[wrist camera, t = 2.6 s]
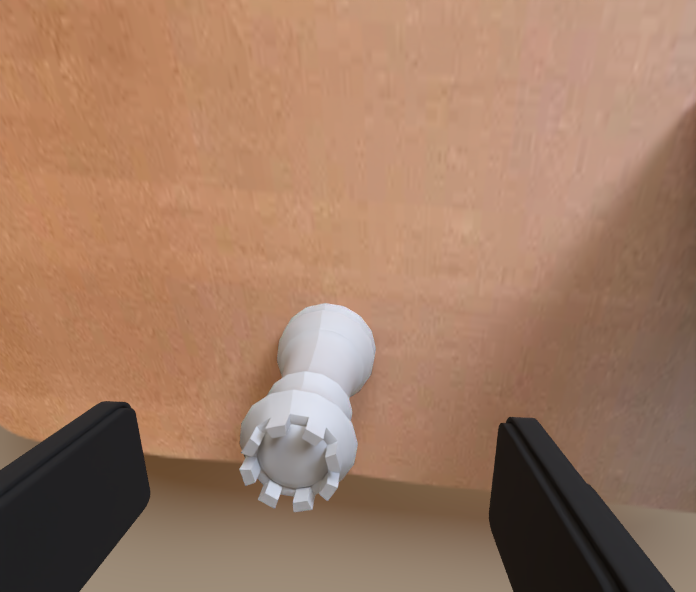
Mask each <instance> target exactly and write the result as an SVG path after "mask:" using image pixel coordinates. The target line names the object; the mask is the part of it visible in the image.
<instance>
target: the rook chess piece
mask: <svg viewBox="0 0 696 592" xmlns="http://www.w3.org/2000/svg"><path fill="white" fill-rule="evenodd" d="M375 351H376V347H375V343H374V339H373V335H372V331H371V330H370V328H369V327H368V326H367V324H366V323H365V322H364V320H363V319H362V318H361V316H359V315H357V314H356V313H354V312H353V311H351V310H349V309H348V308H346V307H344V306H339V305H333V304H327V303H324V304H319V305H315V306H310V307H306V308H305V309H303V310H302V311H301V312H299V313H298V314H296V315H295V316H294V317H292V318H291V320H290V322H289V323H288V325H287V327H286V328H285V330H284V332H283V335H282V336H281V338H280V340H279V346H278V355H277V363H278V366H279V369H280V372H281V376H282V379H280V380H279V381H277V382H276V383H274V385H273V386H272V388H271V390H270V391H269V393H268V394H267V396H266V397H265V398H263V399H262V400H260V401H259V402H257V403H256V404H254V405H253V406H252V407H251V408H250V410H249V412H248V413H247V415H246V416H245V418H244V420H243V421H242V423H241V433H240V446H241V448H242V452H241V453H243V454H244V457H245V460H244V462H243V464H242V466H241V468H240V472H241V475H242V478H243V480H244V483H245V486H247V485H249V484H252V483H255V482H256V480H257V478H258V480H259V481H260V482H261V483H262V484H263V488H262V491H261V493H260V495H259V498H258V500H260V501H262V502H263V503H265V504H267V505H269V506H271V507H273V508H275V507H276V504H277V501H278V498H279V496H280V494H282V495H288V496H294V500H293V511H294V512H299V511H305V510H312V508H313V503H314V498H315V495H316V494H317V493H319V494H320V495H321V496H322V497H323V498H325V499H326V500H327V501H328V500H329V499H330V497H331V496H332V495H333V493H334V492H335V490H336V489H337V488H338V482H339V481H341V480H342V479H343V478H344V477H345V475H346V474H347V473H348V471H349V470H350V469H351V467H352V466H353V465H354V462H355V457H356V451H357V446H358V443H357V439H356V435H355V432H354V428H353V424H352V423H351V417H352V409H351V405H350V401H349V398H350V397H351V396H353V395H354V394H356V393H358V392H359V391H360V390H361V388H362V387H363V385H364V384H365V382H366V381H367V380H368V378H369V377H370V375H371V373H372V368H373V362H374V357H375Z"/></svg>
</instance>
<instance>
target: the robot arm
mask: <svg viewBox="0 0 696 592" xmlns="http://www.w3.org/2000/svg"><path fill="white" fill-rule="evenodd" d="M149 498H150V487H149V482H148V477H147V471H146V466H145V461H144V455H143V450H142V445H141V439H140V434H139V429H138V423H137V418H136V413H135V411H134V410H133V409H132V408H131V406H130V405H129V404H128V403H126V402H110V401H105V402H101V403H99V404H97V405H95V406H94V407H92V408H91V409H90V410H88V411H87V412H85V413H84V414H82V415H81V416H79V417H78V418H76V419H75V420H73V421H72V422H70V423H69V424H68V425H66V426H65V427H63V428H62V429H60V430H59V431H57V432H56V433H54V434H53V435H51V436H50V437H48V438H47V439H45V440H44V441H43V442H41V443H40V444H38V445H37V446H35V447H34V448H32V449H31V450H29V451H28V452H26V453H25V454H23V455H22V456H20V457H19V458H18V459H16V460H15V461H13V462H12V463H10V464H9V465H7V466H6V467H4V468H3V469H2V470H0V592H79V591H80V590H81V589H82V588H83V586H84V585H85V584H86V583H87V581H88V580H89V579H90V578H91V576H92V575H93V574H94V572H95V571H96V570H97V569H98V567H99V566H100V565H101V564H102V562H103V561H104V559H105V558H106V557H107V556H108V555H109V553H110V552H111V551H112V549H113V548H114V547H115V546H116V544H117V543H118V542H119V541H120V539H121V538H122V537H123V536H124V534H125V533H126V532H127V531H128V529H129V528H130V527H131V525H132V524H133V523H134V522H135V520H136V519H137V518H138V517H139V515H140V514H141V513H142V511H143V510H144V509H145V507H146V506H147V503H148V501H149ZM489 522H490V527H491V531H492V534H493V536H494V539H495V542H496V545H497V548H498V551H499V553H500V556H501V559H502V562H503V564H504V567H505V570H506V573H507V575H508V578H509V581H510V583H511V586H512V589H513V592H675V591H674V590H673V588H672V587H671V586H670V585H669V583H668V582H667V581H666V579H665V578H664V577H663V576H662V574H661V573H660V572H659V571H658V569H657V568H656V567H655V566H654V564H653V563H652V562H651V561H650V559H649V558H648V557H647V555H646V554H645V553H644V552H643V550H642V549H641V548H640V547H639V545H638V544H637V543H636V542H635V540H634V539H633V538H632V537H631V535H630V534H629V533H628V531H627V530H626V529H625V528H624V526H623V525H622V524H621V523H620V521H619V520H618V519H617V518H616V516H615V515H614V514H613V513H612V511H611V510H610V509H609V507H608V506H607V505H606V504H605V502H604V501H603V500H602V499H601V497H600V496H599V495H598V494H597V492H596V491H595V490H594V489H593V488H592V487H591V486H590V485H589V484H587V483H586V482H585V481H584V479H583V478H582V477H581V476H580V474H579V473H578V472H577V471H576V469H575V468H574V467H573V465H572V464H571V463H570V462H569V460H568V459H567V458H566V456H565V455H564V454H563V453H562V451H561V450H560V449H559V447H558V446H557V445H556V444H555V442H554V441H553V440H552V438H551V437H550V436H549V435H548V433H547V432H546V431H545V430H544V428H543V427H542V426H541V424H540V423H539V422H538V421H537V420H536V419H535V418H521V417H509V418H508V419H507V421H506V423H501V424H500V425H499V429H498V437H497V446H496V455H495V464H494V473H493V481H492V490H491V499H490V508H489Z"/></svg>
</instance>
